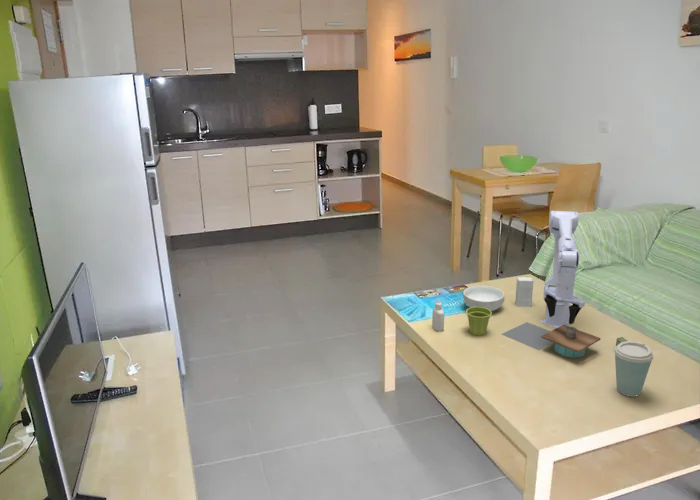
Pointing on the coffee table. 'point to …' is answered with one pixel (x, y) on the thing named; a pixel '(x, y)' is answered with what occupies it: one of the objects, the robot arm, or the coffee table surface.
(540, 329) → the rubber mat
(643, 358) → the disposable coffee cup
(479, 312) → the plant pot
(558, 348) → the teal bowl
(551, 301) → the robot arm
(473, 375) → the coffee table surface
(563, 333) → the walnut lid
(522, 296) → the skincare box
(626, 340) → the medication box
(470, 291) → the cereal bowl
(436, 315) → the eye dropper bottle
